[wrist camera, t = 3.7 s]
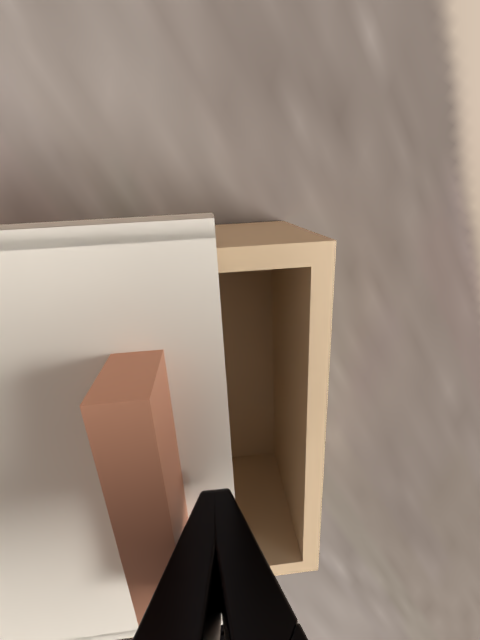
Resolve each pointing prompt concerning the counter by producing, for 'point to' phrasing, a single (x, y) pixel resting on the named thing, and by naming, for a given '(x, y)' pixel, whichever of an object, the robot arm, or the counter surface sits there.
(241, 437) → the wooden box
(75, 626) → the lid
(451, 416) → the counter surface
